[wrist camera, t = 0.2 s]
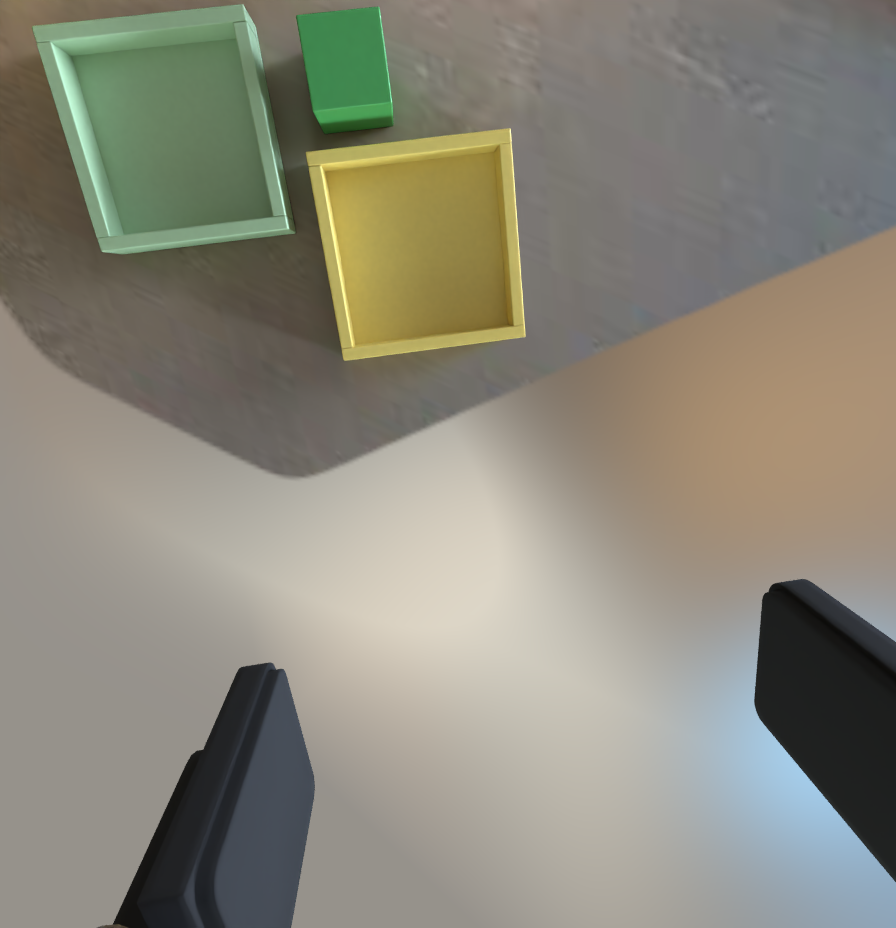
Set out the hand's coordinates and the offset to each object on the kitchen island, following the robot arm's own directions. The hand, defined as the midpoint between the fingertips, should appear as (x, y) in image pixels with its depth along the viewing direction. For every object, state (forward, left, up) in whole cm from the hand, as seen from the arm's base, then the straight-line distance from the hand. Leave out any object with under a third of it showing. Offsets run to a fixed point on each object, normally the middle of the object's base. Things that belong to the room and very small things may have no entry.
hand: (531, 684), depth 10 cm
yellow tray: (-10, 0, -31) cm, 33 cm away
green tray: (-18, -14, -31) cm, 38 cm away
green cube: (-20, -3, -31) cm, 37 cm away
